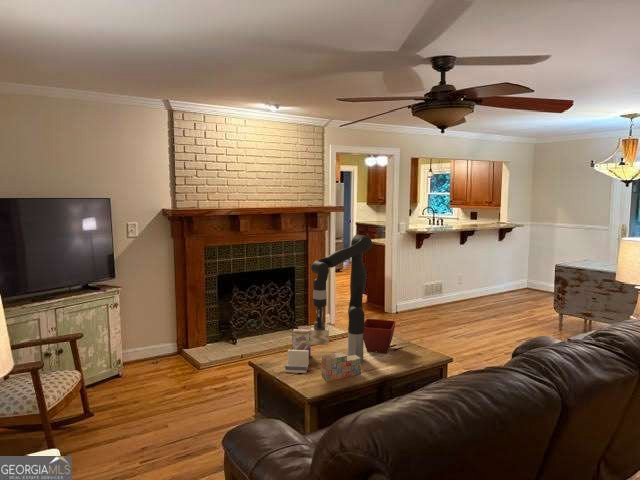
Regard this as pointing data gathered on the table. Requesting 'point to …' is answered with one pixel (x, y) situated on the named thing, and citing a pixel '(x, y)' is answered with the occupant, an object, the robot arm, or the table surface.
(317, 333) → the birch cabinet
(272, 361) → the table surface
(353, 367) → the stack of blocks
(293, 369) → the cleat board
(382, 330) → the plant pot
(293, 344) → the candy bar box
